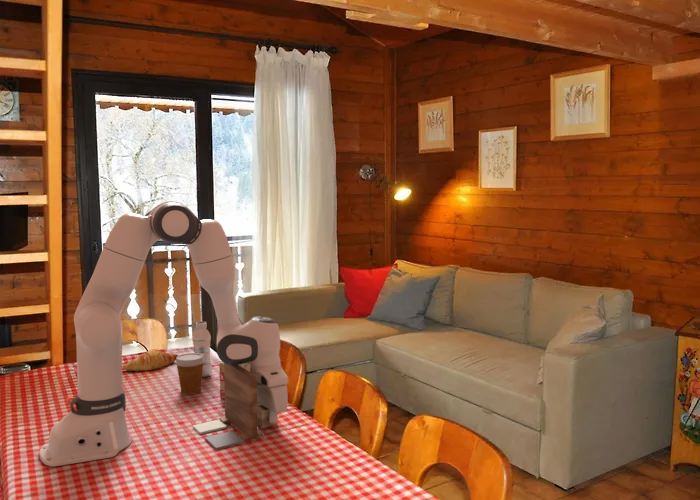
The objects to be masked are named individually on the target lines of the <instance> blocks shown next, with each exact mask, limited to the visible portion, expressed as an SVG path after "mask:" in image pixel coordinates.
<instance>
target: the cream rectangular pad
mask: <svg viewBox="0 0 700 500" xmlns="http://www.w3.org/2000/svg"><path fill="white" fill-rule="evenodd" d="M192 428H193V430H195V431H196V432H197V433H198V434H199V435H205V434H210V433H211V432H212V433H213V432H217V431H220V430H225V429H227V428H228V426H227V425H225V424H224V423H223V422H221V421H220V419H214V420H211V421H210V420H209V421H205V422H202V423H198V424H197V423H196V424H194V425H193V424H192Z"/></svg>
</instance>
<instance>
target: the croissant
mask: <svg viewBox="0 0 700 500" xmlns="http://www.w3.org/2000/svg"><path fill="white" fill-rule="evenodd" d="M177 356H179V354H178V353H171V352H170V353H169V352H165V351H161V350H159V349H150V350H148V351H146V352H145V353H144V354H140V355H138V356H137V357H136V358H134V359H130V361H128V363H126V364H122V370H124V371H129V372H130V371H131V372H132V371H133V372H136V371H137V372H138V371H139V372H141V371H152V370H156V369H161V368H163V367H165V366H168V365H172V364H173V363H175V361H176V358H177Z"/></svg>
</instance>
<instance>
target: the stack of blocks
mask: <svg viewBox="0 0 700 500" xmlns="http://www.w3.org/2000/svg"><path fill="white" fill-rule="evenodd" d="M218 364H219V389H220V390H219V394H220V395H219V398H220V399H223V400H225V385H224V362H222V361H221V360H220V362H219V363H218ZM239 366H241V367H243V368H244V369H246V370H248V371H249V368H250V362H248V363H244V364H239Z"/></svg>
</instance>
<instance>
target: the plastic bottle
mask: <svg viewBox="0 0 700 500" xmlns="http://www.w3.org/2000/svg"><path fill="white" fill-rule="evenodd" d="M207 326H208V325H207V321H203V320H199V321H196V322H195V330H194V332H193V334H192V336H191V340H192V346H193V351H194V352H193V353H199V354H202V355H203V358H204V362H203V369H202V378H205V377H209V376H211V374H212V371H213V365H212V361H211V360H212V359H211V353H210V351H211V349H210V348H211V340H212V339H211V338H212V336H211V333H210V332H209V330H208V329H207Z"/></svg>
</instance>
